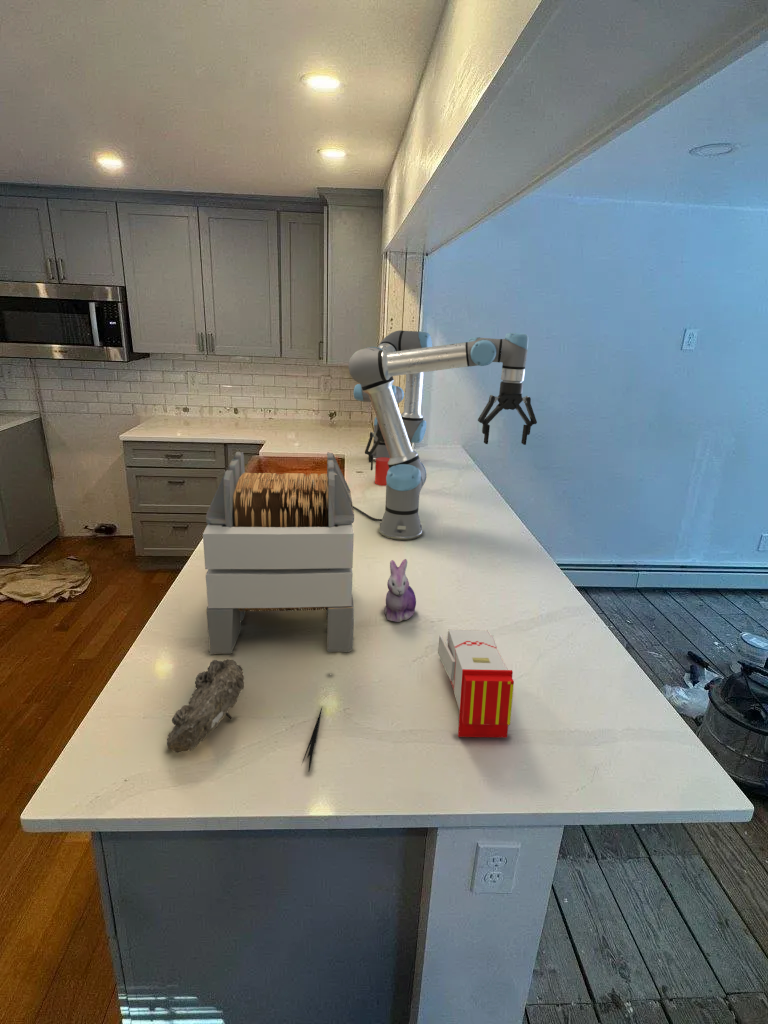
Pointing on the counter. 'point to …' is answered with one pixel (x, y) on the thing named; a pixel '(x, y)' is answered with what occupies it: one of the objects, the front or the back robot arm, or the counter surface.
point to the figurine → (399, 594)
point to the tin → (381, 470)
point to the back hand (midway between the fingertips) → (383, 469)
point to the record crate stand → (279, 550)
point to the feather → (313, 740)
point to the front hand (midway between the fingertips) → (504, 443)
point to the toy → (478, 682)
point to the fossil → (206, 705)
